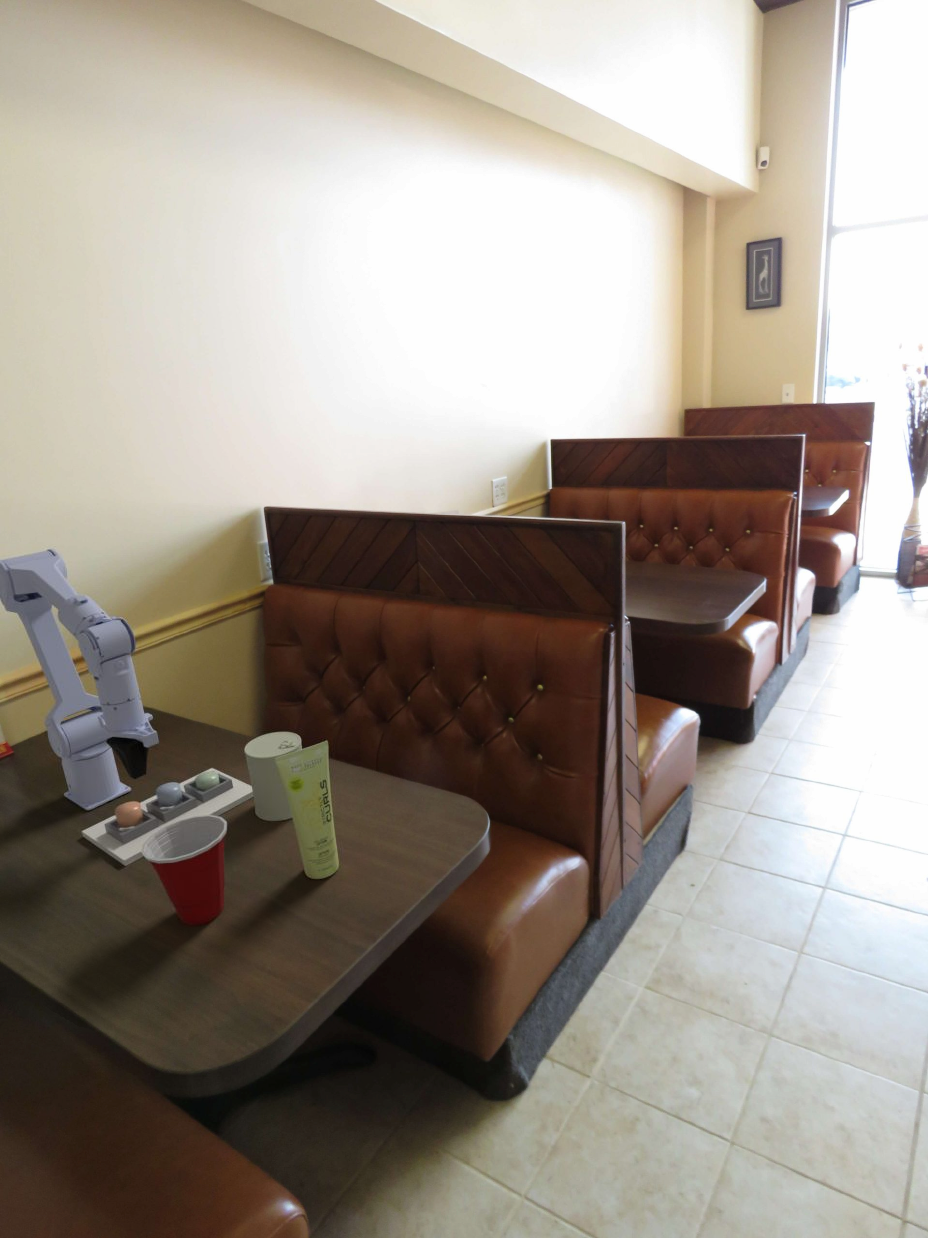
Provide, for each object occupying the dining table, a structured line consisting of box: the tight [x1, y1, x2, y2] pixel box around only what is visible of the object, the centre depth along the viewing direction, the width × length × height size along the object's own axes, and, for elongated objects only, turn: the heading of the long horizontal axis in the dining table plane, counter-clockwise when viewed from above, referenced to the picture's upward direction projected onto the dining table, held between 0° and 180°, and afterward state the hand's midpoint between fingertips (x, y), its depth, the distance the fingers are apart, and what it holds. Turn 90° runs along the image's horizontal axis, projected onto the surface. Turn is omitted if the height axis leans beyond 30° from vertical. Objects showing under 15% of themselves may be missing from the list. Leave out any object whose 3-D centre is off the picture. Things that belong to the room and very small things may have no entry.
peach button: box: [114, 800, 143, 828], centre depth 119 cm, size 4×4×2 cm
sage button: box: [195, 771, 220, 792], centre depth 129 cm, size 4×4×2 cm
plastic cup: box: [141, 815, 228, 926], centre depth 99 cm, size 11×11×12 cm
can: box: [243, 731, 303, 822], centre depth 123 cm, size 9×9×12 cm
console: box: [81, 767, 254, 867], centre depth 125 cm, size 14×24×3 cm, turn 141°
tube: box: [275, 740, 340, 880], centre depth 104 cm, size 6×5×20 cm
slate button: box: [155, 781, 183, 807], centre depth 124 cm, size 4×4×2 cm
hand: (138, 775), depth 119 cm, fingers closed
